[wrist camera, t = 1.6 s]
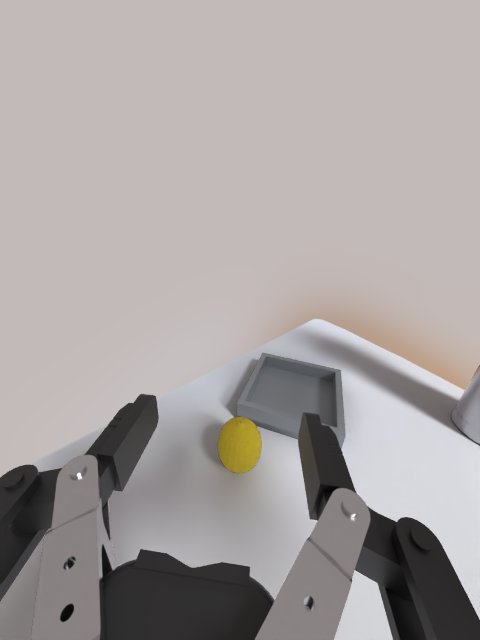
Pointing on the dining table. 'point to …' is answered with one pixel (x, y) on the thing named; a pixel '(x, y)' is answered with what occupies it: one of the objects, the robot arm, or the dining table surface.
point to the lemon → (239, 445)
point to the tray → (292, 396)
